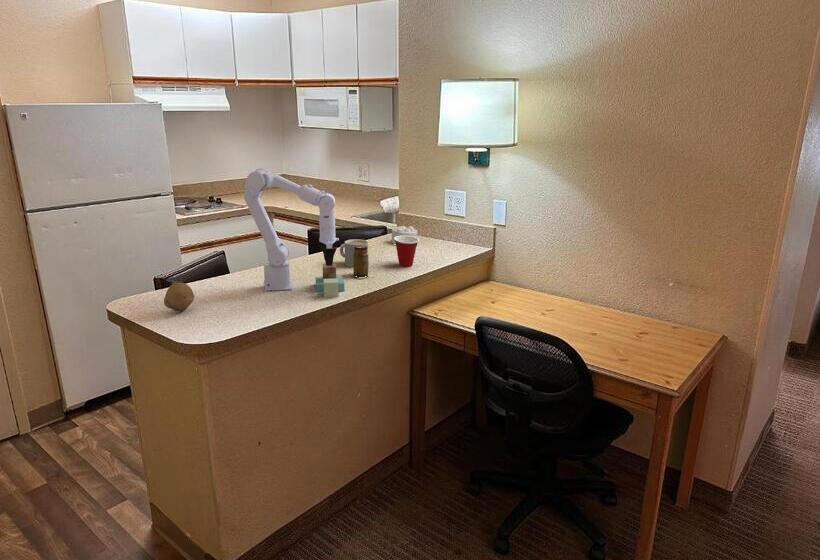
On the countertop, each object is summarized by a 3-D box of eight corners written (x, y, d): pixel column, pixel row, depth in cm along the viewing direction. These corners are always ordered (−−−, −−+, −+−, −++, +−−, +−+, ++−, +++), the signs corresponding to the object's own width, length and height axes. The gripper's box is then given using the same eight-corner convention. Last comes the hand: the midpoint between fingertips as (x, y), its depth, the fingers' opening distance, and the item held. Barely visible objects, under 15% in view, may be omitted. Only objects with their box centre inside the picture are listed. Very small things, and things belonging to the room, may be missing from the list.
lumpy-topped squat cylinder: (404, 240, 292) (404, 223, 289) (422, 245, 283) (422, 227, 281) (388, 243, 285) (389, 226, 282) (407, 248, 276) (407, 230, 274)
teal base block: (317, 293, 212) (317, 284, 211) (315, 285, 221) (315, 276, 220) (344, 292, 214) (344, 283, 213) (341, 284, 223) (341, 275, 222)
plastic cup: (408, 270, 241) (409, 242, 237) (388, 265, 247) (388, 238, 243) (423, 264, 249) (424, 237, 246) (404, 260, 255) (404, 234, 252)
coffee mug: (372, 264, 248) (372, 242, 246) (356, 269, 241) (355, 245, 238) (351, 258, 257) (351, 236, 254) (334, 263, 250) (334, 240, 247)
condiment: (365, 271, 238) (365, 243, 234) (374, 277, 231) (374, 248, 227) (349, 274, 234) (348, 245, 231) (357, 279, 227) (357, 250, 224)
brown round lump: (201, 311, 191) (198, 283, 188) (175, 318, 185) (172, 289, 182) (187, 305, 197) (184, 277, 194) (162, 311, 190) (158, 283, 187)
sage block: (324, 297, 206) (324, 283, 205) (323, 293, 211) (323, 278, 209) (338, 296, 207) (338, 282, 206) (337, 292, 212) (337, 278, 210)
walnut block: (322, 281, 214) (322, 267, 213) (323, 277, 219) (322, 263, 217) (336, 281, 215) (336, 267, 213) (336, 277, 220) (336, 263, 218)
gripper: (340, 230, 205) (341, 267, 209) (336, 222, 218) (337, 257, 222) (320, 231, 203) (321, 268, 207) (317, 223, 217) (318, 258, 221)
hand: (328, 262), depth 215 cm, fingers open, 7 cm apart
